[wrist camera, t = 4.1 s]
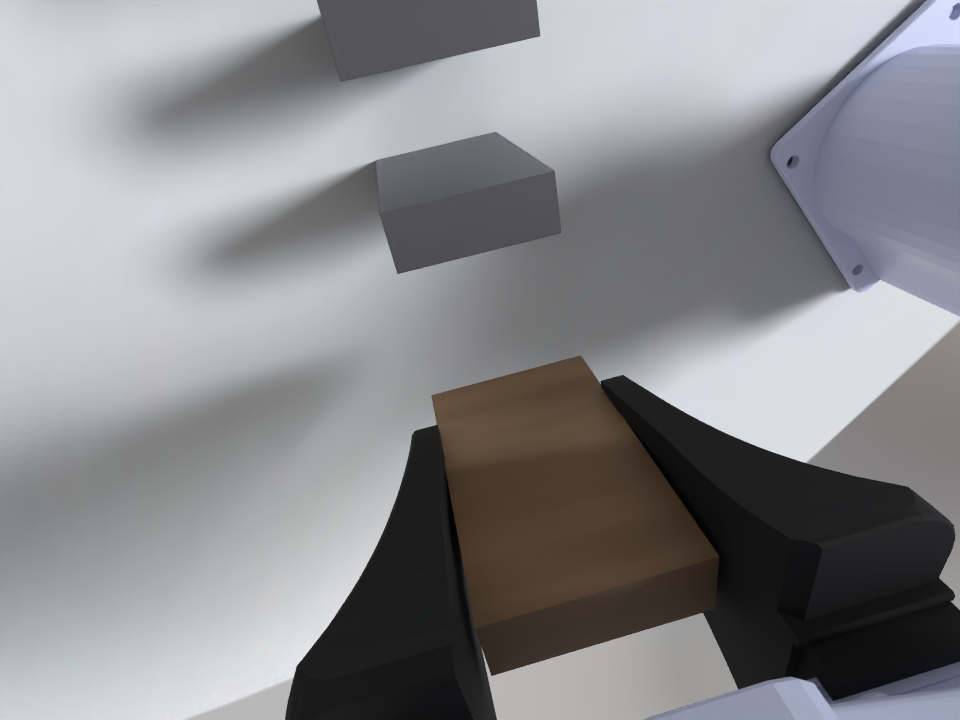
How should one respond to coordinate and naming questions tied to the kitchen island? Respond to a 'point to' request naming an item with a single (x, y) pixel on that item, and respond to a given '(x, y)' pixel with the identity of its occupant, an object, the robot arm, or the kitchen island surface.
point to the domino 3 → (564, 518)
